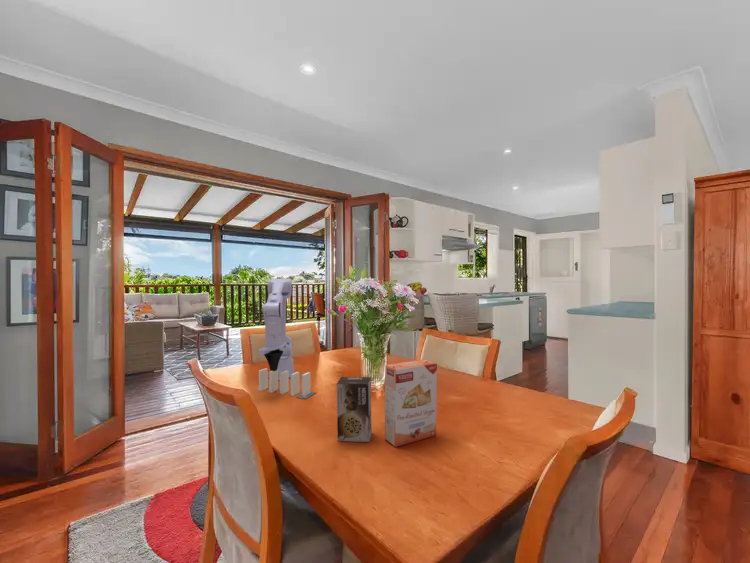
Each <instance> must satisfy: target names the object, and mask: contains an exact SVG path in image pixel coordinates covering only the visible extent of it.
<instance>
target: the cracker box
mask: <svg viewBox="0 0 750 563" xmlns="http://www.w3.org/2000/svg"><path fill="white" fill-rule="evenodd" d="M384 371H385V374H384V378H385V381H384V384H385V385H384V387H385V388H384V439H385V440H386V441H387V442H388V443H390V445H392V446H393V447H394V448H397V447H401V446H404V445H407V444H411V443H415V442H419V441H422V440H424V439H428V438H433V437H436V435H437V388H438V387H437V386H438V384H437V383H438V382H437V380H438V379H437V378H438V364H437V363H436V362H434V361H431V360H428V359H425V358H424V359H417V360H411V361H403V362H396V363H390V364H385V367H384Z"/></svg>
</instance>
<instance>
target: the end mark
mask: <svg viewBox="0 0 750 563" xmlns="http://www.w3.org/2000/svg"><path fill="white" fill-rule="evenodd" d="M316 393H317V392H315V391H314V392H313V391H311V393H310V394H309V395H307V396H305V397H303V396H302V393H301V394H299V395H298V396H296V399H302V400H307V399H308V398H310V397H312V396H313V395H315V394H316Z"/></svg>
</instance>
